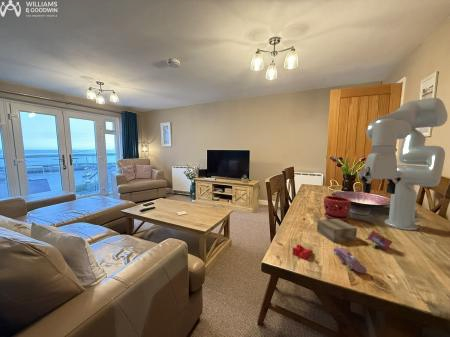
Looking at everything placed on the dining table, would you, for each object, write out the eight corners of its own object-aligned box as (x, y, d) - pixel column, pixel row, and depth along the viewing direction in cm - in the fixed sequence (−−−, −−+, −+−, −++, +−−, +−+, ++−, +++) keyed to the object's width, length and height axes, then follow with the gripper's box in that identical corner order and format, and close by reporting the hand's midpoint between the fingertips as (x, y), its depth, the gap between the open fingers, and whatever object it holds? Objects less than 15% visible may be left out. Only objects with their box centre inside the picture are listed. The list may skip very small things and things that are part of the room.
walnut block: (336, 230, 93) (337, 218, 93) (355, 241, 82) (356, 227, 82) (316, 232, 91) (317, 220, 91) (333, 243, 81) (334, 229, 80)
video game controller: (336, 261, 70) (328, 245, 69) (346, 255, 70) (339, 240, 69) (356, 280, 60) (348, 262, 59) (369, 273, 60) (361, 255, 59)
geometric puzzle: (398, 244, 74) (383, 225, 77) (395, 250, 70) (380, 230, 73) (378, 249, 79) (366, 231, 82) (375, 255, 75) (361, 235, 78)
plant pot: (349, 224, 100) (351, 202, 99) (322, 219, 107) (323, 199, 105) (349, 217, 111) (350, 197, 110) (324, 213, 118) (325, 194, 116)
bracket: (305, 260, 68) (305, 253, 68) (292, 255, 71) (292, 248, 71) (312, 254, 72) (312, 246, 72) (300, 249, 76) (300, 242, 76)
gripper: (396, 151, 79) (391, 191, 80) (354, 150, 79) (351, 190, 81) (413, 151, 72) (408, 195, 73) (367, 150, 72) (363, 194, 73)
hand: (378, 193), depth 77 cm, fingers open, 9 cm apart
